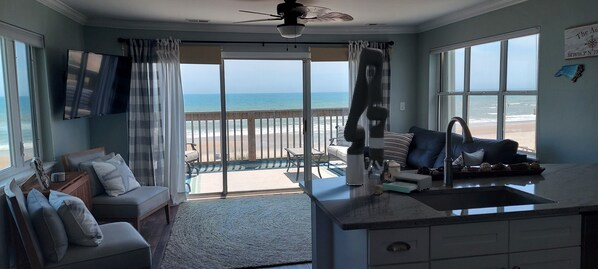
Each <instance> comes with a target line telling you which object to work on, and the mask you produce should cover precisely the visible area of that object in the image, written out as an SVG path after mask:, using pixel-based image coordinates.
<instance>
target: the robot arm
mask: <svg viewBox="0 0 598 269" xmlns="http://www.w3.org/2000/svg"><path fill="white" fill-rule="evenodd" d="M367 67H372V68H373V67H374V74H373V76H372V78H371V79H370V81H369V80H368V77H367ZM383 70H384V52H383V51H382V50H381V49H379V48H373V47H363V48H362V49H361V52H360V55H359V61H358V68H357V76H356V80H355V84H354V85H355V86H354V89H353V93H352V94H353V95H352V97H351V98H352V99H351V104H350V108H349V112H348V116H347V119H346V121H345V126H344V127H343V128H344V129H343V138H344V141H346V142H347V143H351V145H350V146H349V147H347V149H346V167H345V184H346V183H348V184H363V183H364V184H365V171H367V177H368V179H369V180H371V179H370V174H373V169H374V168H377V169H378V171H379V174H380V179H379V181H380V182H383V181H385V173H386V172H388V170H389V162H390V160H389V159H388V160H386V159H384V157H385V127H386V122H387V119H388V116H389V110H388V108H387V107H386V106H384V105H382V106H381V105H379V106H378V104H381V103H383V100H384V96H383V95H384V94H383ZM376 105H377V106H376ZM365 111H366V113H365V115H366V119H367V120H369V121H373V122H374V121H379V122H378V123H377V124H373V125H371V126H370V127H369V140H368V156H369V157H364V153H365V152H364V151H365V148H366V129H365V127H364V126H363V125H361V124H359V121H360V119H361V116H362V115H363V113H364V112H365Z"/></svg>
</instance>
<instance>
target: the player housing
mask: <svg viewBox="0 0 598 269" xmlns="http://www.w3.org/2000/svg"><path fill="white" fill-rule="evenodd" d="M393 182H404V183H411V184H418V188H417V189H414V190H413V191H416V190H419V191H418V192H422V191H424V190H423V189H425V190H428V189H430V187H431V188H433V187H432V175H425V174H418V173H417V174H416V173H410V172H409V173H408V172H402V173H400V174H398V175H395V176H393V181H392V183H393ZM427 188H428V189H427ZM421 190H422V191H421Z"/></svg>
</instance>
